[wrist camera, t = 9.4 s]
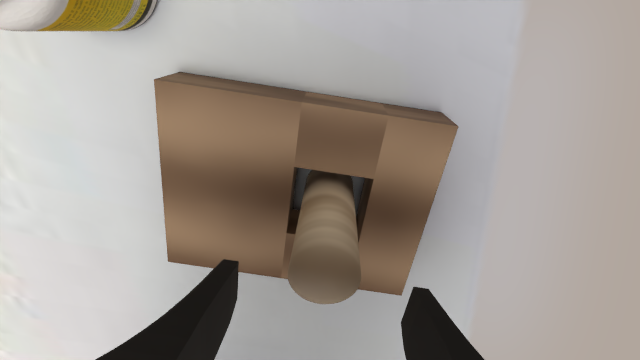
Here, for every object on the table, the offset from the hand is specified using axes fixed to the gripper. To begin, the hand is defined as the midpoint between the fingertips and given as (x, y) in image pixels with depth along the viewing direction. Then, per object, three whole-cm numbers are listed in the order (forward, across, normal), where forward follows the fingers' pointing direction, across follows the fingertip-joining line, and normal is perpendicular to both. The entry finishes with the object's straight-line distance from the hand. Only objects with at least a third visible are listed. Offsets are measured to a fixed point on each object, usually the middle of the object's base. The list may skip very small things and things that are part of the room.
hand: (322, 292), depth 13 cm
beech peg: (+10, 0, 0) cm, 10 cm away
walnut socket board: (+10, +2, 0) cm, 10 cm away
